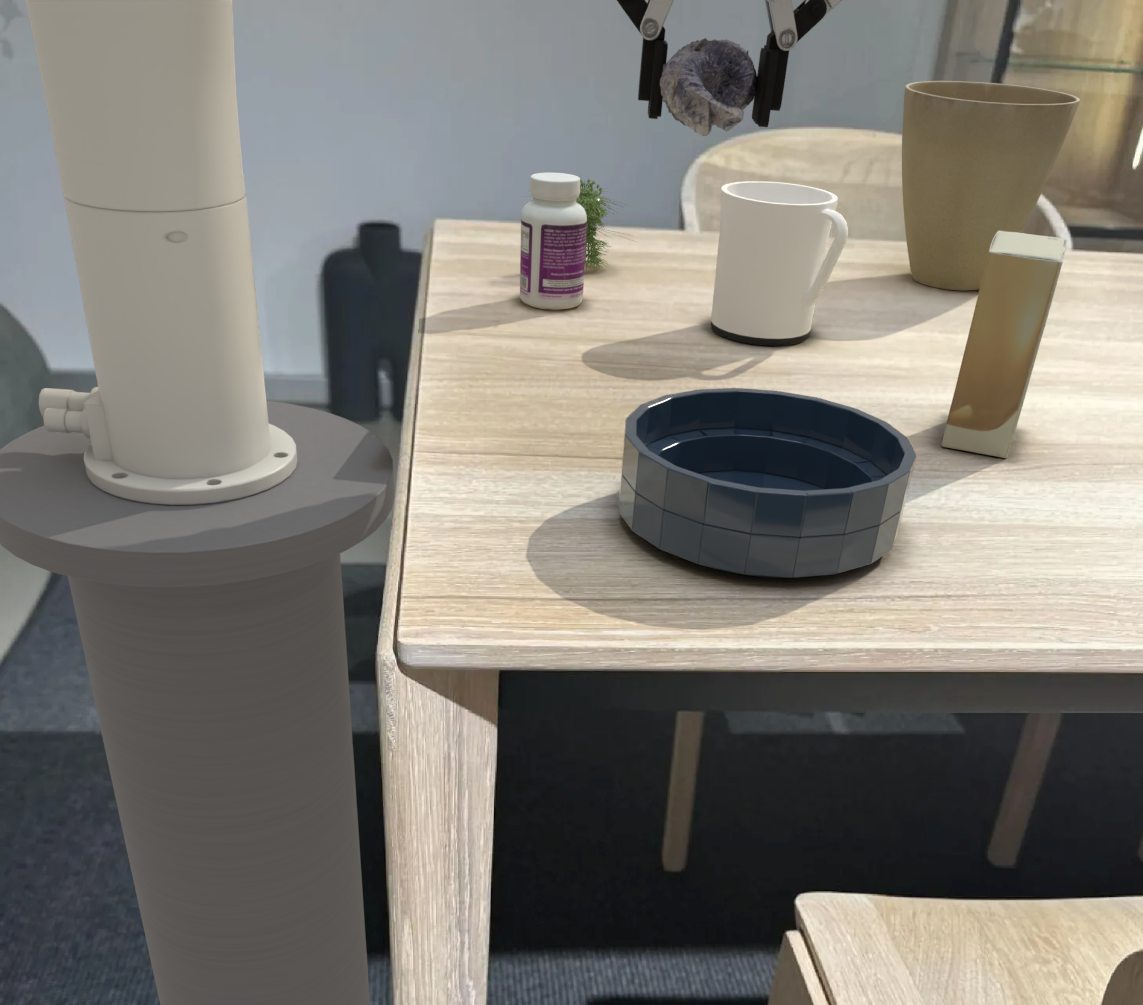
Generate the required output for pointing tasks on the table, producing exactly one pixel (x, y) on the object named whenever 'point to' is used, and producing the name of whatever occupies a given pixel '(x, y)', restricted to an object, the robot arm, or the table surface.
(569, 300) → the pill bottle
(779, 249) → the mug
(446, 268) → the table surface
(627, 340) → the table surface
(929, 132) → the plant pot
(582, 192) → the green plant
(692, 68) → the seashell
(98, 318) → the robot arm
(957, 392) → the cosmetic box
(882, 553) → the bowl
